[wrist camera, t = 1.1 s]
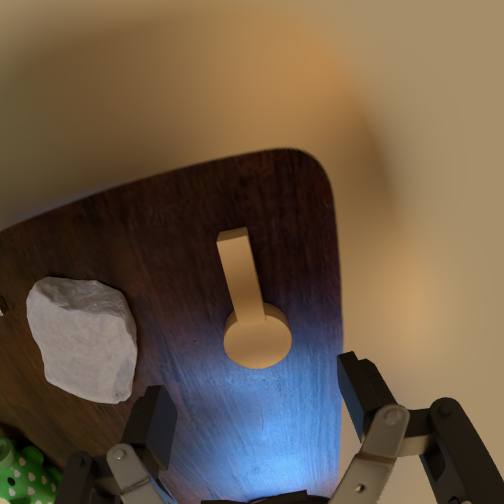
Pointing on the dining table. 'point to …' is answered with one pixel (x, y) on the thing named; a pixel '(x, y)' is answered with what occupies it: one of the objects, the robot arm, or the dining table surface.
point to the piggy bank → (26, 475)
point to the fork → (3, 306)
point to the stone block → (84, 337)
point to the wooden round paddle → (250, 308)
